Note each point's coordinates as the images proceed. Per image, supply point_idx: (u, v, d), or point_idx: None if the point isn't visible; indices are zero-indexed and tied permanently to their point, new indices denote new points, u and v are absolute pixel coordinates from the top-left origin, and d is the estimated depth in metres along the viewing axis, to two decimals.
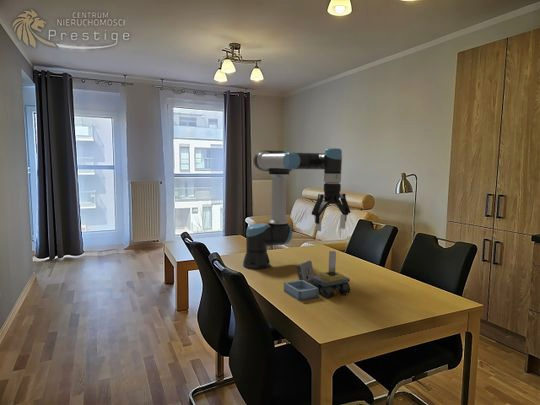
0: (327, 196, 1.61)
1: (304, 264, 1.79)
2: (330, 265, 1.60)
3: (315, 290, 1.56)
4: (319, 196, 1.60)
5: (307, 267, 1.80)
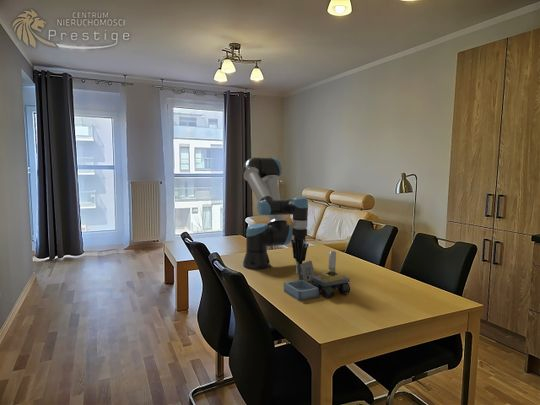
0: (294, 238, 1.86)
1: (305, 264, 1.78)
2: (330, 265, 1.60)
3: (315, 290, 1.56)
4: None
5: (308, 267, 1.80)
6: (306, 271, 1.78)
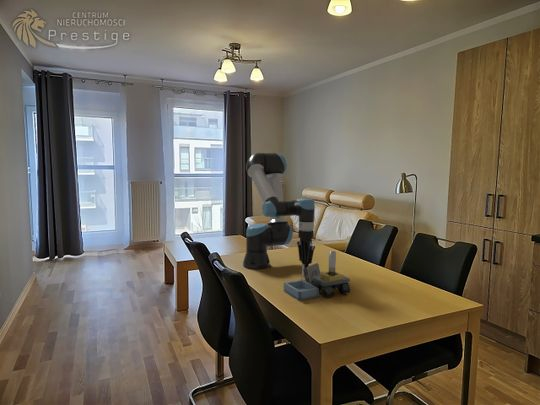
0: (300, 240, 1.82)
1: (311, 267, 1.73)
2: (330, 265, 1.60)
3: (315, 290, 1.56)
4: None
5: (314, 270, 1.75)
6: (313, 274, 1.73)
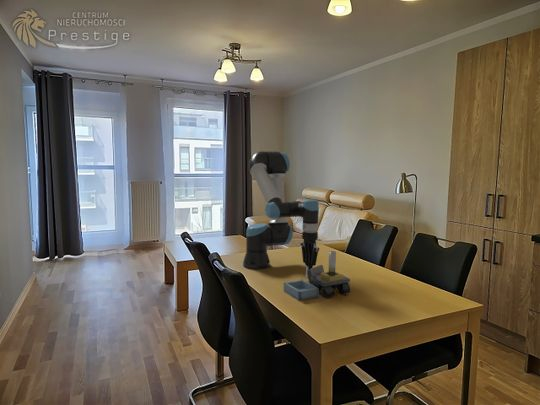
0: (304, 242, 1.79)
1: (315, 269, 1.71)
2: (330, 265, 1.60)
3: (315, 290, 1.56)
4: None
5: (318, 272, 1.72)
6: None
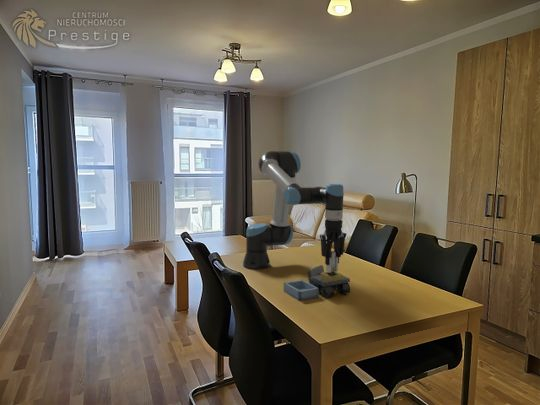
0: (328, 233, 1.57)
1: (315, 269, 1.71)
2: None
3: (315, 290, 1.56)
4: (321, 238, 1.57)
5: (318, 272, 1.72)
6: None
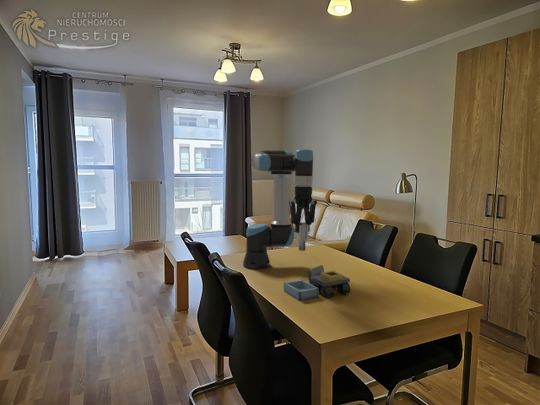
0: (298, 200, 1.54)
1: (315, 269, 1.71)
2: None
3: (315, 290, 1.56)
4: (290, 204, 1.53)
5: (318, 272, 1.72)
6: None
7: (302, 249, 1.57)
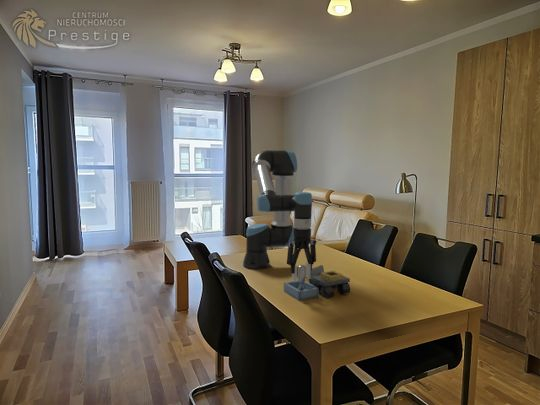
0: (297, 242, 1.56)
1: (315, 269, 1.71)
2: (299, 279, 1.59)
3: (315, 290, 1.56)
4: (289, 245, 1.55)
5: (318, 272, 1.72)
6: None
7: None
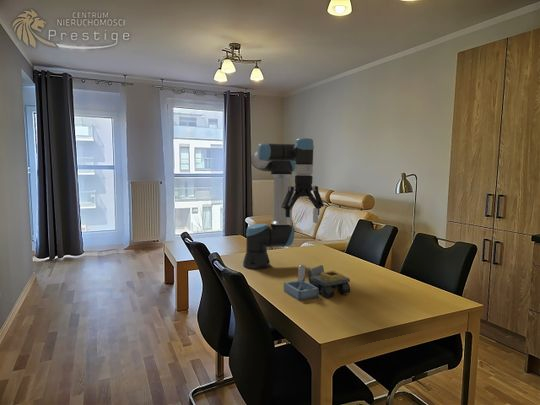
0: (298, 188, 1.53)
1: (315, 269, 1.71)
2: (299, 279, 1.59)
3: (315, 290, 1.56)
4: (289, 188, 1.52)
5: (318, 272, 1.72)
6: None
7: None
